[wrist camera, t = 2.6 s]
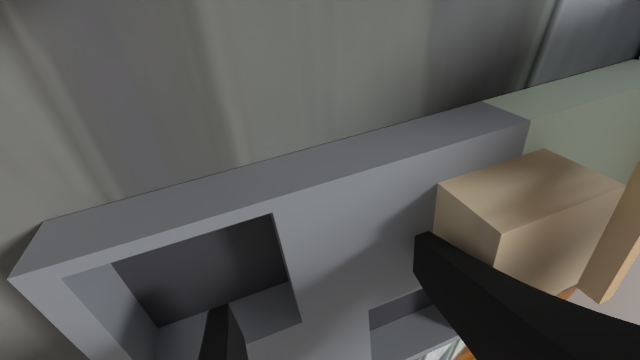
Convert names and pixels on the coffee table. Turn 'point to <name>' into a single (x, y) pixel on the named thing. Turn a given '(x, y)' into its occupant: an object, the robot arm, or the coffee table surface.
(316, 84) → the coffee table surface
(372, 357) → the board
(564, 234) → the maple block
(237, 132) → the coffee table surface
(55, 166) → the coffee table surface
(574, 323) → the robot arm
